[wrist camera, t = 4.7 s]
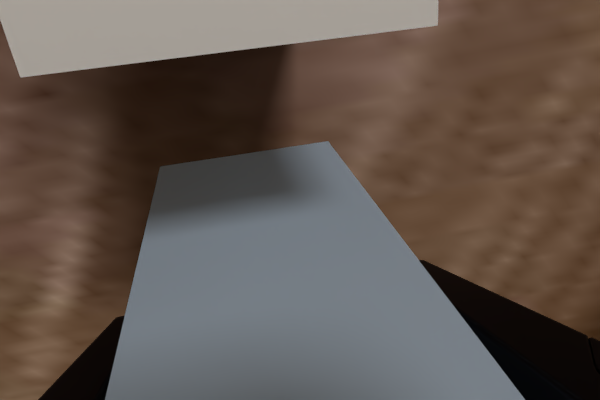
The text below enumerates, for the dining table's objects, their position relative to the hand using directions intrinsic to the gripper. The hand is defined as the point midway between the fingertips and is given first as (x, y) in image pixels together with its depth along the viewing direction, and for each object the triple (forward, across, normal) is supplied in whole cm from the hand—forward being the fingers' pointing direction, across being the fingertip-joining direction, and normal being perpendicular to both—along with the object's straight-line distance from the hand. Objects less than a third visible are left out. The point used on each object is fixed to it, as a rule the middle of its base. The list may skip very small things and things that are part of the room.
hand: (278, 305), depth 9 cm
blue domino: (+6, 0, 0) cm, 6 cm away
